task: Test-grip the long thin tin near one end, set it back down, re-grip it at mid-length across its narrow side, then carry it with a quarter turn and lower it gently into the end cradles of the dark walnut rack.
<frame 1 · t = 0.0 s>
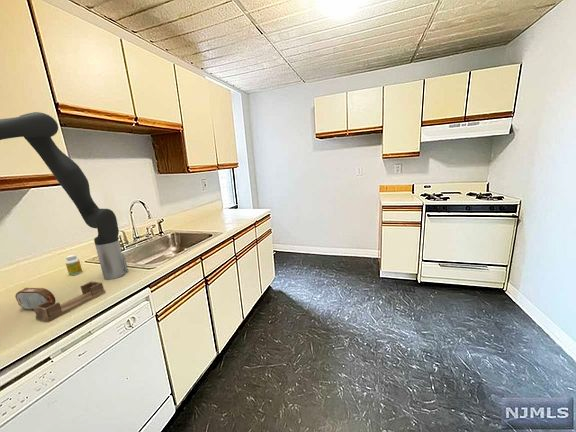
tin: (38, 309, 97), on the worktop
supplement bottle: (76, 274, 130), on the worktop
rack: (73, 305, 98), on the worktop
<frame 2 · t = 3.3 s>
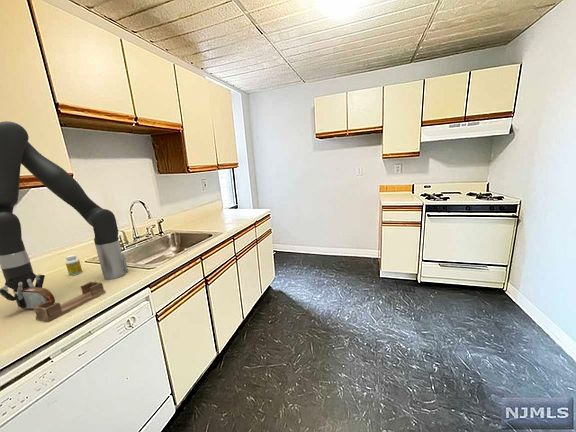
hand: (29, 304, 98), 1 cm above the worktop, fingers closed on tin, 3 cm apart
tin: (38, 308, 97), on the worktop, touching gripper
everything else where it was.
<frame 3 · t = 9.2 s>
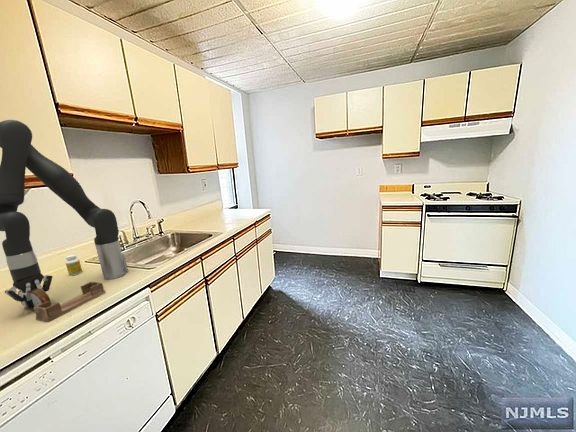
hand: (37, 306, 97), 1 cm above the worktop, fingers closed on tin, 2 cm apart
tin: (36, 309, 97), on the worktop, touching gripper
everything else where it was.
when the fingers open (3 cm above the worktop, at t = 14.6 s): tin stays where it is, resting on rack.
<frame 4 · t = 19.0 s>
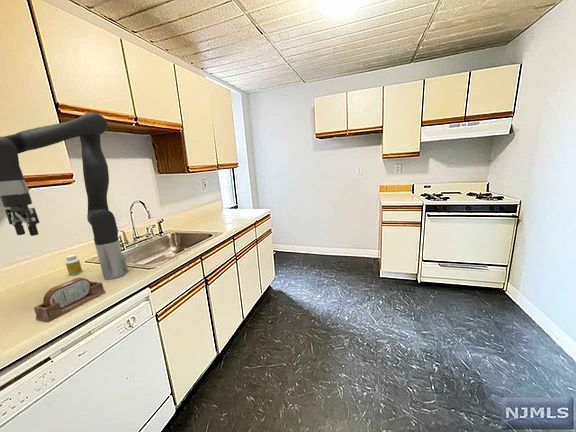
hand: (28, 235, 97), 28 cm above the worktop, fingers open, 8 cm apart
tin: (72, 303, 97), point 1 cm above the worktop, touching rack
everything else where it was.
at the end: tin 0.4 cm off-centre on the rack, point 1.0 cm above the rack's base; tin tilted 0°; the gripper is holding nothing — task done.
